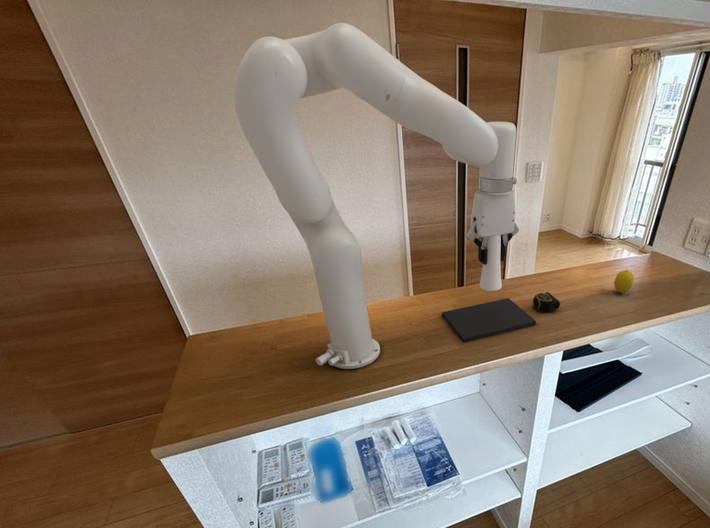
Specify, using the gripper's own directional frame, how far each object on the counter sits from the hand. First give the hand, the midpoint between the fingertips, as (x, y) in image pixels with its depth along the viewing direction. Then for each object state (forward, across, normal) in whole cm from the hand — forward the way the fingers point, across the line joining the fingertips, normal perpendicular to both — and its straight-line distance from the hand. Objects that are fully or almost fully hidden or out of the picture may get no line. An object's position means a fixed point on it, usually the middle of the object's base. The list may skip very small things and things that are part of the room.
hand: (491, 260), depth 95 cm
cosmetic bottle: (+8, 0, 0) cm, 8 cm away
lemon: (+18, -47, +2) cm, 50 cm away
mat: (+18, 0, 0) cm, 18 cm away
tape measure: (+18, -19, 0) cm, 26 cm away
